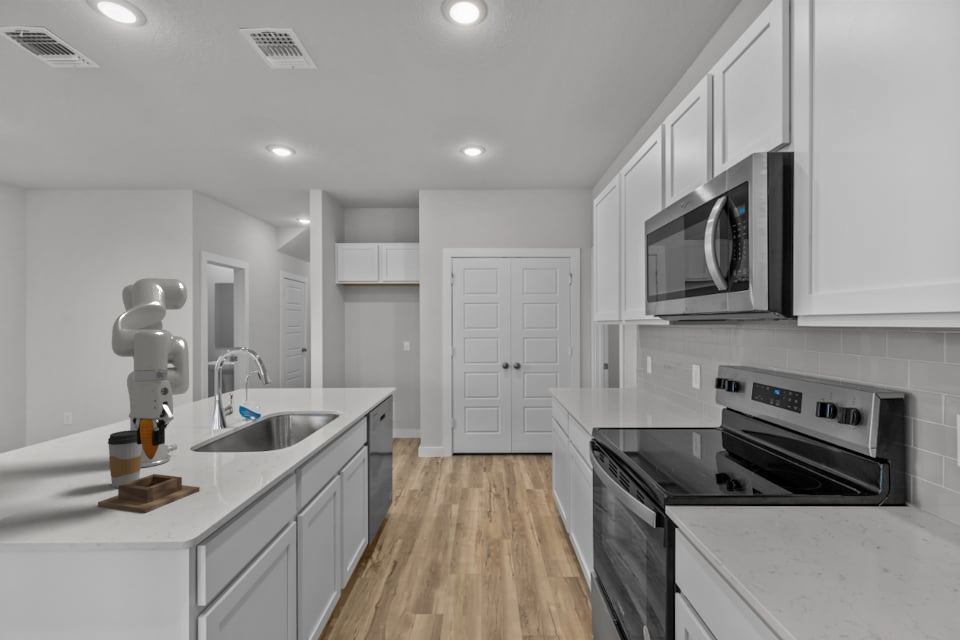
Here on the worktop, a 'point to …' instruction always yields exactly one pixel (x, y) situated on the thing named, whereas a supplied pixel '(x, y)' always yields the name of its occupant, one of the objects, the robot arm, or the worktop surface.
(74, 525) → the worktop surface
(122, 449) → the coffee cup
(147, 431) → the carrot
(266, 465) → the worktop surface
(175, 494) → the walnut stand
